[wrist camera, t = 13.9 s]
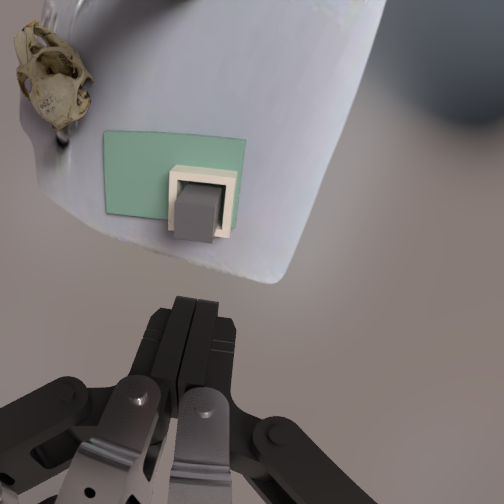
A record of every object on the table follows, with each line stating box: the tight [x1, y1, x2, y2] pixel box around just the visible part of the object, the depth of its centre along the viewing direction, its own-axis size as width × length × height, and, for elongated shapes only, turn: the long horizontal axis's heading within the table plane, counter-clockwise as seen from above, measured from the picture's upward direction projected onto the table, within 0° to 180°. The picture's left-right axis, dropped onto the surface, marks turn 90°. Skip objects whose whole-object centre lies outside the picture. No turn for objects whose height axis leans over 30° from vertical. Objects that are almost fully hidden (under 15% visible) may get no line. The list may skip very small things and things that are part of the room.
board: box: [104, 131, 246, 228], centre depth 40 cm, size 12×19×1 cm, turn 83°
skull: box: [14, 21, 94, 132], centre depth 29 cm, size 10×16×10 cm, turn 14°
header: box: [168, 165, 238, 238], centre depth 40 cm, size 8×8×3 cm
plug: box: [174, 181, 224, 243], centre depth 38 cm, size 5×4×8 cm
